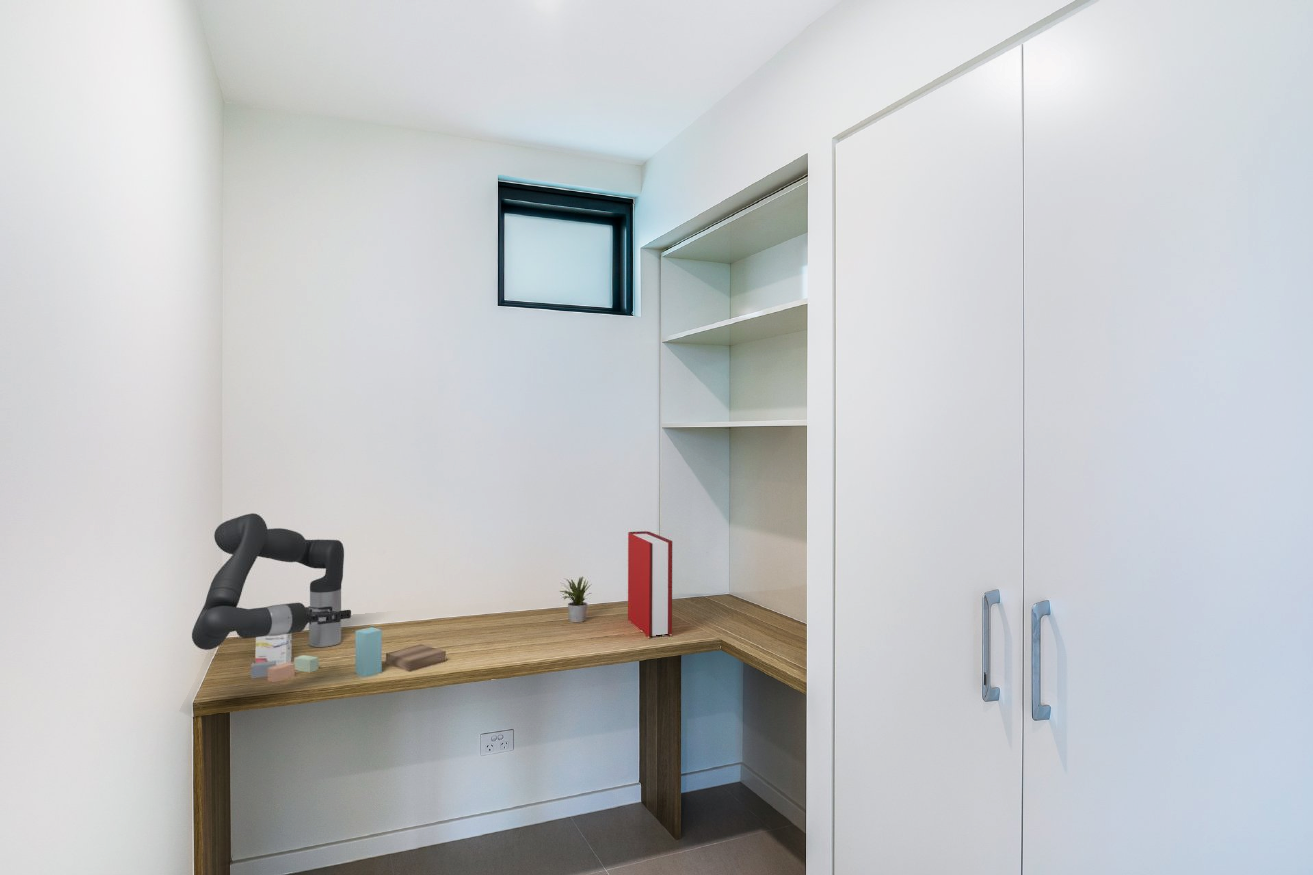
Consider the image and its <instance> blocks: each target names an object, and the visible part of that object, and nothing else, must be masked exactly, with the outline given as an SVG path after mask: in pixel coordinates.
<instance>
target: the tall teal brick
mask: <svg viewBox="0 0 1313 875" xmlns="http://www.w3.org/2000/svg"><path fill="white" fill-rule="evenodd" d="M382 634H383V630H382V629H379V628H377V627H372V626H371V627H368V628H362V629H359V630H355V640H354V641H355V645H354V647H355V650H354V651H355V653H354V655H355V657H354V658H355V661H354V662H355V665H354V667H355V668H354V670H355V675H358V676H361V677H364V678H368V677H371V676H375V675H378V674H382V665H383V663H382V658H383V657H382V655H383V654H382V653H383V652H382V649H383V648H382V646H383V644H382V643H383V640H382V639H383V637H382V636H383V635H382Z"/></svg>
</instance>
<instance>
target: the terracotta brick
mask: <svg viewBox="0 0 1313 875" xmlns="http://www.w3.org/2000/svg"><path fill="white" fill-rule="evenodd" d="M295 676H296V670H295V664H294V662H291V663H289V662H286V663H283V664H280V665H276V666H273V667H270V668H268V677H267V681H268V682H272V683H276V682H277V683H278V682H279V681H283V680H285V679H289V678H292V677H295Z"/></svg>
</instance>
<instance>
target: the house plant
mask: <svg viewBox="0 0 1313 875" xmlns="http://www.w3.org/2000/svg"><path fill="white" fill-rule="evenodd" d="M578 578H579V579H578V580H577V583H575V582H574V580H573V579H570V580H571V581H570V580H569V579H567V578H565V580H566V581H567V582H568V587H569V588H567V590H566V589H565V590H559V592H560V593H562V595H564V596H562V598H561V599H563V600H566V599H569V600H570V601H571V602H568V603H567V607H568V614H569V621H572V622H571V623H573V622H581V623H583V622H582V621H584V622H586V614H587V608H588V602H586V601H585V600H586V596H588V595H590V594H591V592H589V593H588V594H586V596H584V595H585V593H586V591H587V590H588V589H589V588H590V586H591V584H590V585H588V584H589V581H587V578H585V580H584V576H580V577H578ZM583 580H584V582H583ZM582 583H583V585H582ZM576 584H577V585H576ZM561 585H563V586H564V587H566V584H564V583H562V582H561Z"/></svg>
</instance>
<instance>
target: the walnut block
mask: <svg viewBox="0 0 1313 875" xmlns="http://www.w3.org/2000/svg"><path fill="white" fill-rule="evenodd" d="M446 654H447V653H446V650H442V649H439V648H435V647H432V646H428V645H425V644H421V643H420V644H417V645H413V646H410V647H409V646H408V647H405V648H402V649H397V650H394V651H390V652H386V653H385V664H386V665H389V666H392V667H395V668H398V669H401V670H405V671H406V672H414V671H417V670H421V669H424V668H427V667H431V665H432V666H435V665H439V664H441V662H442V663H444V662H445V661H446V660H447V658H446V657H447V656H446ZM438 663H439V664H438Z"/></svg>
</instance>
